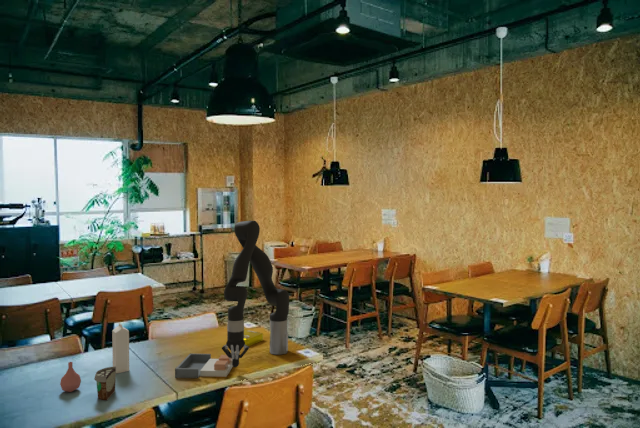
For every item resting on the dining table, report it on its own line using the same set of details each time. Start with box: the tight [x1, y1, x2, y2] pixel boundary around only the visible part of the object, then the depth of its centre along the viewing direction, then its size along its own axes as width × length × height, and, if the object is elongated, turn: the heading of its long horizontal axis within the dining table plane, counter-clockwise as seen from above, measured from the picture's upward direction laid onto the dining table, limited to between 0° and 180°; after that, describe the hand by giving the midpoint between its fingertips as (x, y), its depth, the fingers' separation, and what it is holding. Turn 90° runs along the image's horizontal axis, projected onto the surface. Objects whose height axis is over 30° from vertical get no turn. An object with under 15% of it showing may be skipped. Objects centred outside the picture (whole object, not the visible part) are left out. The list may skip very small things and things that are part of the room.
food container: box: [93, 366, 117, 401], centre depth 192 cm, size 12×6×10 cm, turn 5°
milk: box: [111, 322, 130, 374], centre depth 220 cm, size 6×6×22 cm
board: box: [199, 358, 234, 378], centre depth 222 cm, size 12×16×2 cm
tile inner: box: [218, 354, 232, 364], centre depth 226 cm, size 5×5×2 cm
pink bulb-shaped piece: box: [59, 361, 82, 393], centre depth 197 cm, size 8×8×12 cm
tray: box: [174, 352, 212, 379], centre depth 222 cm, size 10×21×4 cm, turn 177°
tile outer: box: [214, 361, 228, 370], centre depth 218 cm, size 5×5×2 cm
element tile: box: [244, 329, 264, 347], centre depth 267 cm, size 15×15×5 cm
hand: (235, 366), depth 217 cm, fingers closed
